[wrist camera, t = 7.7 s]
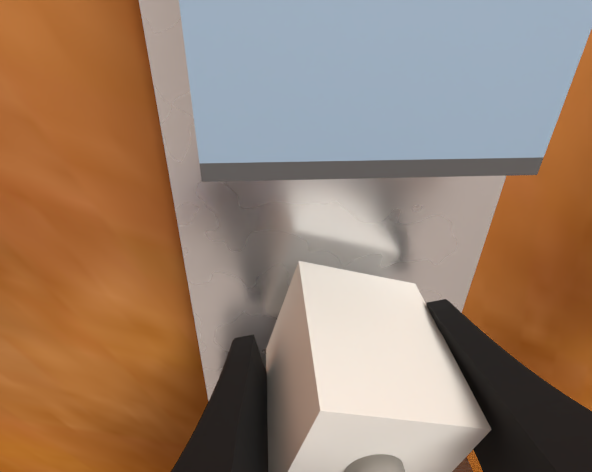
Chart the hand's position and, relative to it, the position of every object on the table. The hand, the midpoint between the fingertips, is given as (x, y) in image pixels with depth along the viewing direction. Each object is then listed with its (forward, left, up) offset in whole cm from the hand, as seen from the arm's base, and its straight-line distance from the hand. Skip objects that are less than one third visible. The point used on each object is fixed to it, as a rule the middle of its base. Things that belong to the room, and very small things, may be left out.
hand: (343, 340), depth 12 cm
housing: (0, 0, -1) cm, 1 cm away
